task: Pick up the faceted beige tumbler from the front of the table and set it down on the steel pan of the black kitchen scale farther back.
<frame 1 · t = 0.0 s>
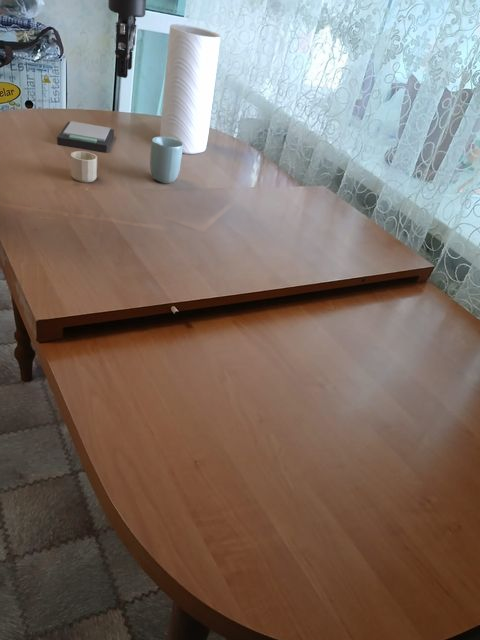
hand: (124, 72, 121), 25 cm above the table, tool pointing down, fingers open, 8 cm apart
cup: (163, 180, 143), on the table
scale: (86, 140, 155), on the table
vase: (182, 147, 167), on the table
faceted beige tumbler: (84, 178, 134), on the table
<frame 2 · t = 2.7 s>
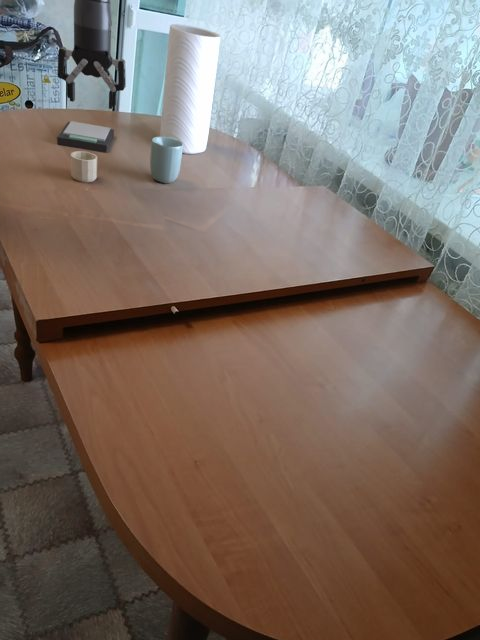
hand: (91, 104, 124), 17 cm above the table, tool pointing down, fingers open, 8 cm apart
nothing on the table moved.
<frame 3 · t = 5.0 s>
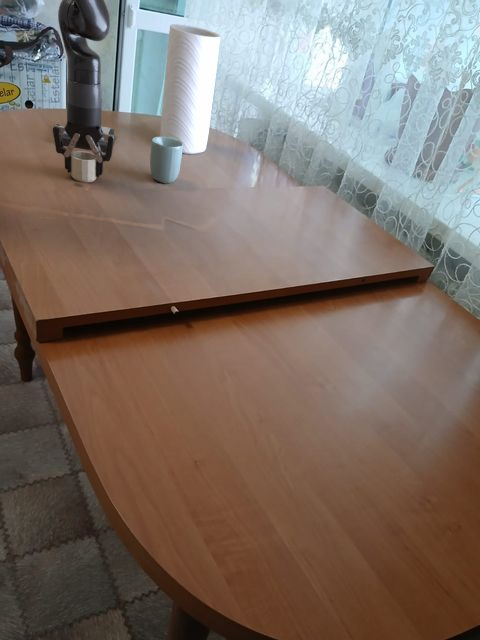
hand: (84, 173, 133), 1 cm above the table, tool pointing down, fingers closed on faceted beige tumbler, 6 cm apart
faceted beige tumbler: (84, 178, 134), on the table, touching gripper
everything else where it was.
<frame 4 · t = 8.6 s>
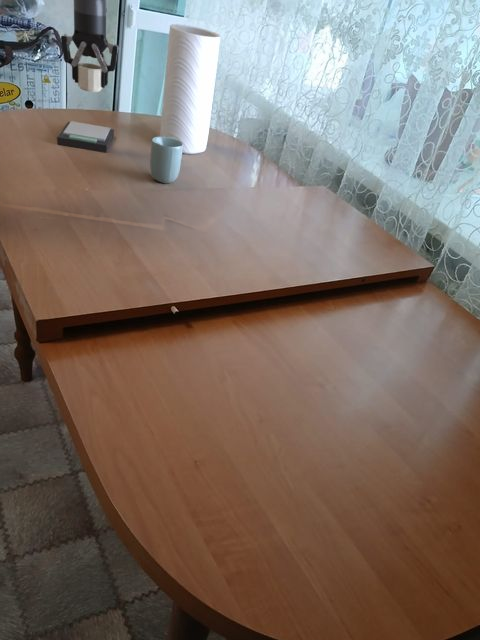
hand: (90, 84, 142), 16 cm above the table, tool pointing down, fingers closed on faceted beige tumbler, 6 cm apart
faceted beige tumbler: (90, 89, 142), point 15 cm above the table, touching gripper
everything else where it was.
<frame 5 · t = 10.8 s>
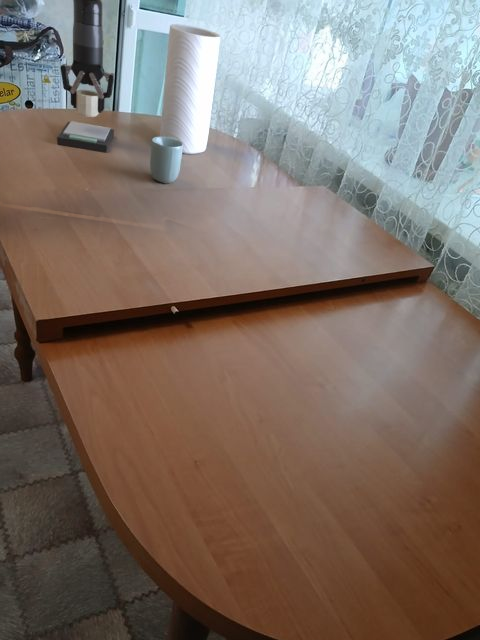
hand: (87, 109, 151), 8 cm above the table, tool pointing down, fingers closed on faceted beige tumbler, 6 cm apart
faceted beige tumbler: (87, 113, 152), point 7 cm above the table, touching gripper
everything else where it was.
when the fingers open (4 cm above the table, at t = 12.5 s): faceted beige tumbler stays where it is, resting on scale.
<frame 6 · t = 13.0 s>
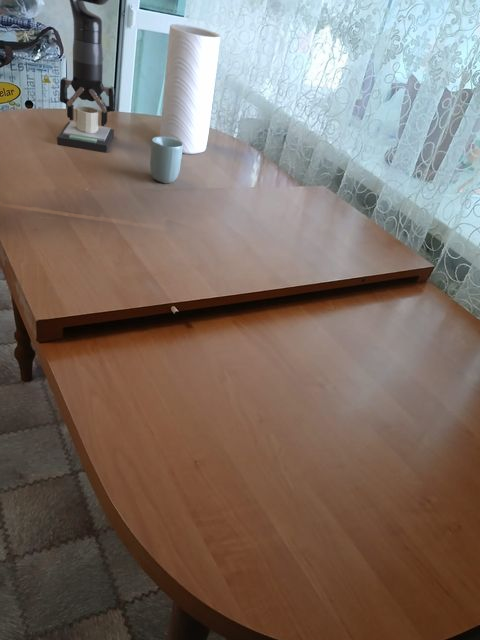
hand: (87, 122, 153), 5 cm above the table, tool pointing down, fingers open, 8 cm apart
faceted beige tumbler: (87, 129, 154), point 3 cm above the table, touching scale
everything else where it was.
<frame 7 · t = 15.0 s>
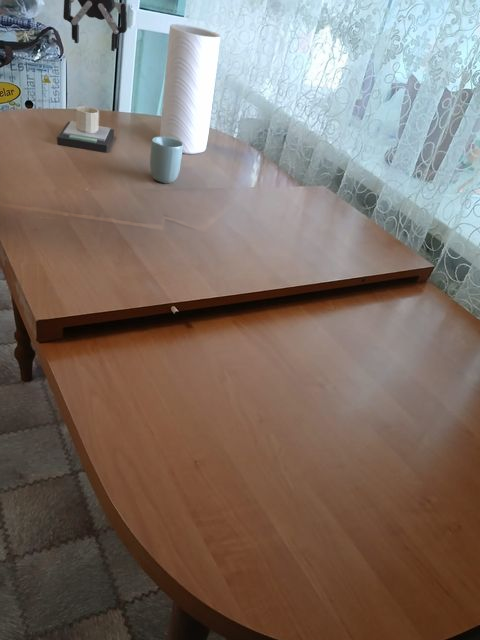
hand: (95, 46, 132), 26 cm above the table, tool pointing down, fingers open, 8 cm apart
nothing on the table moved.
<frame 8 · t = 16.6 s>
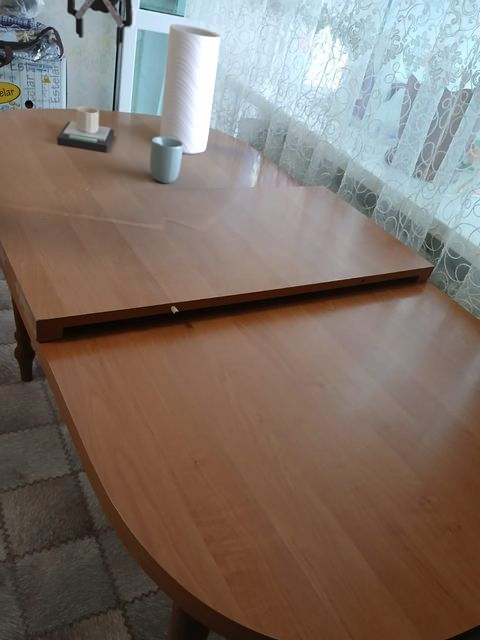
hand: (99, 41, 129), 28 cm above the table, tool pointing down, fingers open, 8 cm apart
nothing on the table moved.
at the end: faceted beige tumbler inside the target area on the scale (0.0 cm from its centre), point 2.6 cm above the scale's base; faceted beige tumbler tilted 0°; the gripper is holding nothing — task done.
